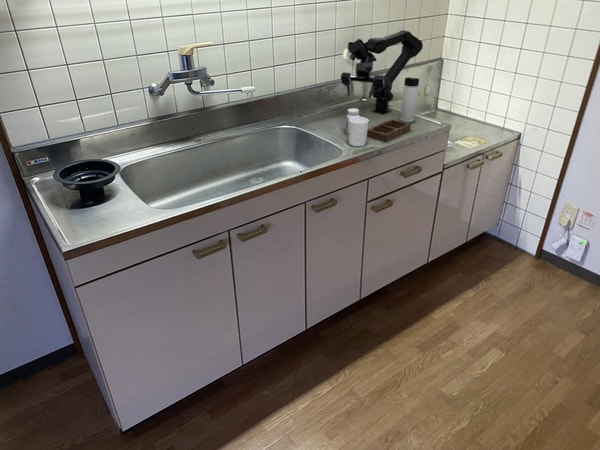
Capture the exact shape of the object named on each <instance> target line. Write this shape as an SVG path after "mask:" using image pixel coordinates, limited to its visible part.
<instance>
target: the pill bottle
mask: <svg viewBox="0 0 600 450" xmlns="http://www.w3.org/2000/svg"><path fill="white" fill-rule="evenodd" d="M352 117H361V116H360V109H358V108H356V107H355V108H349V109H347V114H346V117H345V118H346V119H345V121H346V122H345V132H346V133H347V134H348V135H349V119H350V118H352Z"/></svg>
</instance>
